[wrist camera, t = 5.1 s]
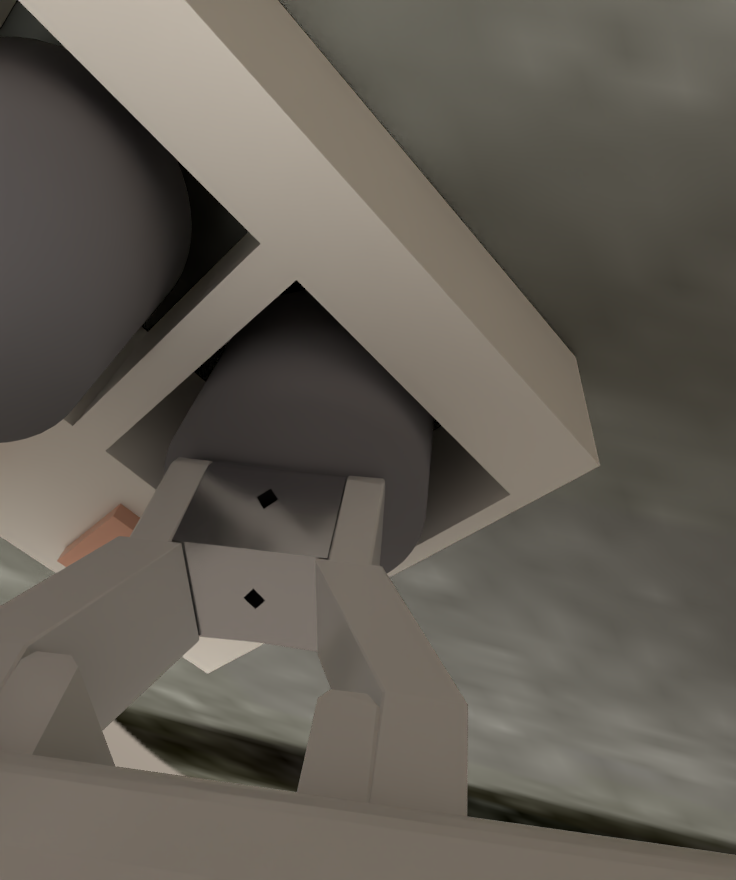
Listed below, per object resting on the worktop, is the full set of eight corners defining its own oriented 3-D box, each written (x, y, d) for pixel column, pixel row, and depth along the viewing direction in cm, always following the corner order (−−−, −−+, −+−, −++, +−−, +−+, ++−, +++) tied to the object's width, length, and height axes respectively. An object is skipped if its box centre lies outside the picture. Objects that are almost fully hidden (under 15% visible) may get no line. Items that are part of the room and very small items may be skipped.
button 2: (481, 403, 12) (482, 523, 10) (329, 500, 14) (298, 621, 11) (329, 242, 11) (286, 336, 8) (182, 374, 12) (113, 482, 10)
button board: (575, 357, 12) (603, 479, 9) (246, 564, 16) (203, 686, 14) (-337, -738, 6) (-901, -1194, 4) (-465, 24, 11) (-768, 56, 8)
